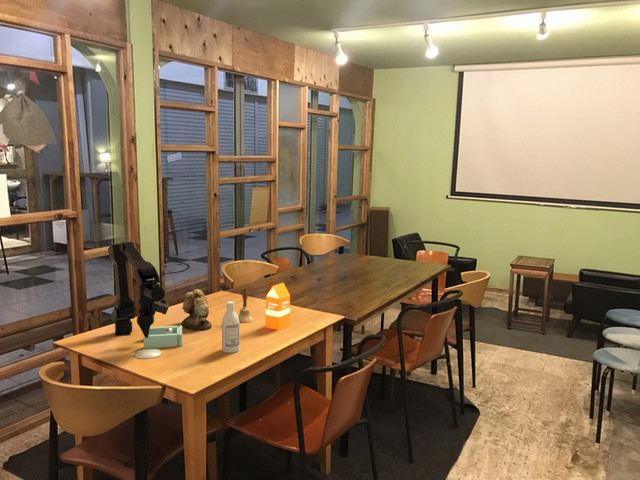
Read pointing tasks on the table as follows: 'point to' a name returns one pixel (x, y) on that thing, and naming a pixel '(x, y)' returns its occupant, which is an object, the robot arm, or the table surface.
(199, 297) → the owl figurine
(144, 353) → the cream oval dome
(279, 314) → the orange juice
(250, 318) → the hand bell
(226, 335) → the bath foam
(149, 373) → the table surface
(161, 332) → the c link
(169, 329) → the peg
